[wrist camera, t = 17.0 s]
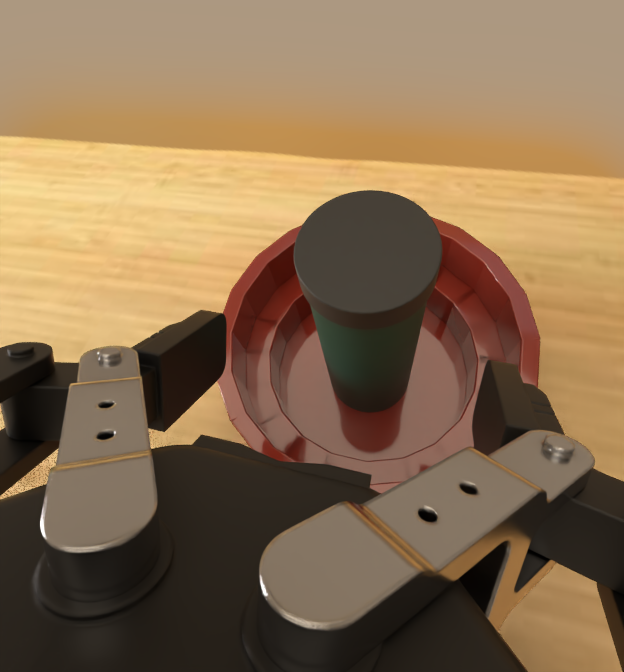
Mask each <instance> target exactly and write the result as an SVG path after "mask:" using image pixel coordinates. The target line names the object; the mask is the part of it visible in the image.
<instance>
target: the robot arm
mask: <svg viewBox="0 0 624 672" xmlns="http://www.w3.org/2000/svg"><path fill="white" fill-rule="evenodd" d="M226 332H227V322H226V317H225V315H224V314H222V313H216V312H211V311H205V310H200V311H198V312H196V313H195V314H193V315H191V316H190V317H188V318H187V319H185V320H183V321H182V322H179V323H176V324H172V325H169V326H167V327H165V328H164V329H162V330H160V331H159V333H155V334H154V335H152V336H151V337H150V338H147V339H145V340H143V341H142V342H140V343H138V344H137V345H135V346H133V347H132V348H129V347H124V346H106V347H100V348H96V349H93V350H90V351H88V352H86V353H84V354H83V355H82V356H81V358H80V363H61V362H54V357H53V351H52V347H51V346H49V345H47V344H44V343H37V342H22V343H16V344H12V345H8V346H5V347H2V348H0V405H1V409H2V414H3V419H4V424H5V428H4V429H2V430H1V431H0V495H2V494H3V493H4V492H5V491H6V490H8V489H9V488H10V487H11V486H13V485H14V484H15V483H16V482H17V481H19V480H20V479H21V478H22V477H24V476H25V475H26V474H27V473H29V472H30V471H31V470H32V469H33V468H35V467H36V466H37V465H38V464H40V463H41V462H42V461H43V460H44V459H46V458H47V457H48V456H49V455H51V454H52V453H53V452H54V451H55V450H57V449H58V448H59V450H58V456H57V462H56V466H55V467H52V468H51V469H50V472H49V476H48V481H47V484H46V485H43V486H40V487H37V488H34V489H31V490H28V491H25V492H22V493H19V494H16V495H13V496H10V497H7V498H4V499H1V500H0V672H528V671H527V670H526V668H525V667H524V666H523V664H522V663H521V662H520V661H519V659H518V658H517V657H516V655H515V654H514V653H513V651H512V650H511V649H510V647H509V646H508V645H507V643H506V642H505V641H504V639H503V638H502V637H501V635H500V634H499V633H498V631H499V629H500V627H501V625H502V624H503V622H504V620H505V618H506V617H507V615H508V614H509V613H510V611H511V610H512V609H513V608H514V607H515V606H516V605H517V604H518V603H519V602H520V601H521V600H522V599H523V598H524V597H525V596H526V595H527V594H528V593H529V592H530V591H531V589H532V588H533V587H534V586H535V585H536V584H537V583H538V582H539V581H540V580H541V579H542V578H543V577H544V576H545V575H546V574H547V573H548V572H549V571H550V570H551V569H552V568H553V567H554V565H555V563H556V562H557V563H559V564H561V565H563V566H565V567H567V568H569V569H571V570H573V571H575V572H577V573H579V574H581V575H583V576H585V577H588V578H590V579H592V580H594V581H596V582H597V588H598V592H599V595H600V598H601V602H602V605H603V608H604V612H605V615H606V618H607V622H608V625H609V628H610V632H611V635H612V638H613V641H614V645H615V648H616V651H617V655H618V658H619V661H620V665H621V668H622V671H623V672H624V482H623V481H621V480H618V479H616V478H613V477H610V476H608V475H606V474H603V473H601V472H599V471H597V470H595V469H594V468H593V466H594V463H595V459H594V456H593V455H592V453H591V452H590V451H589V450H588V449H587V448H586V447H585V446H583V445H582V444H581V443H579V442H578V441H576V440H574V439H572V438H570V437H568V436H565V435H564V432H563V430H562V428H561V426H560V424H559V422H558V420H557V417H556V416H555V413H554V411H553V409H552V407H551V405H550V402H549V400H548V398H547V396H546V395H545V394H544V393H543V392H542V391H541V390H539V389H538V388H537V387H536V386H535V385H532V384H527V383H523V380H522V378H521V375H520V373H519V370H518V368H517V365H516V364H510V363H504V362H498V361H493V360H488V361H487V363H486V365H485V368H484V372H483V376H482V380H481V384H480V388H479V392H478V396H477V400H476V404H475V408H474V413H473V419H472V434H473V442H474V447H471V446H469V447H466V448H464V449H462V450H460V451H458V452H456V453H454V454H453V455H451V456H449V457H447V458H445V459H444V460H442V461H440V462H438V463H436V464H434V465H433V466H431V467H429V468H427V469H425V470H424V471H422V472H420V473H418V474H416V475H414V476H413V477H411V478H409V479H407V480H405V481H404V482H402V483H400V484H398V485H396V486H395V487H393V488H391V489H389V490H387V491H385V492H384V493H382V494H381V493H379V492H377V491H375V490H373V489H371V488H370V483H371V477H372V475H371V474H367V473H362V472H358V471H354V470H350V469H345V468H341V467H337V466H333V465H328V464H316V463H300V462H285V461H279V460H276V459H273V458H271V457H269V456H267V455H264V454H262V453H260V452H258V451H256V450H253V449H251V448H249V447H247V446H244V445H242V444H239V443H235V442H231V441H227V440H222V439H218V438H214V437H210V436H205V435H201V436H200V437H199V438H198V439H197V440H196V441H195V442H194V443H193V445H172V446H164V447H158V448H154V449H151V448H150V440H149V432H148V428H150V429H154V430H158V431H162V432H165V431H166V430H167V429H168V428H169V427H170V426H171V425H172V424H173V423H174V422H175V421H176V420H177V419H178V418H179V417H180V416H181V415H182V414H183V413H185V412H186V411H187V410H188V409H189V408H190V407H191V406H192V405H193V404H194V403H195V402H196V401H197V400H198V399H199V398H200V397H201V396H202V395H203V394H204V393H205V392H206V391H207V390H208V389H209V388H210V387H211V386H212V385H213V384H214V383H215V382H216V381H217V380H218V379H219V378H220V377H221V376H222V374H223V372H224V369H225V365H226Z"/></svg>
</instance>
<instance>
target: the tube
mask: <svg viewBox="0 0 624 672" xmlns="http://www.w3.org/2000/svg"><path fill="white" fill-rule="evenodd" d="M441 260H442V241H441V237H440V233H439V231H438V229H437V226H436V225H435V223H434V221H433V220H432V218H431V217H430V216H429V215H428V214H427V212H426V211H424V210H423V209H422V208H421V207H420V206H419V205H417V204H416V203H414V202H413V201H411V200H409V199H407V198H405V197H402V196H400V195H397V194H393V193H390V192H384V191H373V190H368V191H357V192H352V193H348V194H344V195H341V196H339V197H336V198H334V199H332V200H330V201H328V202H326V203H325V204H323V205H322V206H320V207H319V208H318V209H316V210H315V211H314V212H313V213H312V214H311V215H310V216H309V217H308V218H307V220H306V221H305V222H304V224H303V225H302V227H301V229H300V231H299V233H298V235H297V238H296V241H295V246H294V264H295V269H296V272H297V276H298V279H299V283H300V286H301V289H302V292H303V294H304V296H305V298H306V299H307V301H308V302H309V304H310V306H311V310H312V314H313V317H314V321H315V325H316V328H317V332H318V336H319V339H320V343H321V347H322V350H323V354H324V358H325V362H326V365H327V369H328V373H329V376H330V380H331V384H332V387H333V389H334V391H335V393H336V395H337V396H338V398H339V399H340V400H341V401H342V402H343V403H345V404H346V405H347V406H349V407H351V408H353V409H355V410H358V411H361V412H379V411H383V410H385V409H388V408H390V407H391V406H393V405H394V404H396V403H397V402H398V401H399V400H400V399H401V398H402V396H403V395H404V393H405V391H406V389H407V386H408V382H409V378H410V374H411V369H412V365H413V361H414V356H415V352H416V347H417V343H418V339H419V334H420V330H421V325H422V321H423V317H424V312H425V308H426V304H427V300H428V299H429V297H430V295H431V294H432V292H433V290H434V287H435V285H436V281H437V277H438V273H439V268H440V264H441Z"/></svg>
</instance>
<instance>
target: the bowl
mask: <svg viewBox="0 0 624 672" xmlns="http://www.w3.org/2000/svg"><path fill="white" fill-rule="evenodd" d="M431 218H432V220H433V221H434V223H435V225H436V226H437V229H438V231H439V233H440V237H441V241H442V260H441V264H440V268H439V273H438V277H437V281H436V285H435V287H434V290H433V292H432V294H431V295H430V297H429V299H428V300H427V304H426V308H425V312H424V317H423V321H422V325H421V330H420V334H419V339H418V343H417V347H416V352H415V356H414V361H413V365H412V369H411V374H410V378H409V382H408V386H407V389H406V391H405V393H404V395H403V396H402V398H401V399H400V400H399V401H398V402H397V403H396V404H394V405H393V406H391V407H390V408H388V409H385V410H383V411H379V412H361V411H358V410H355V409H353V408H351V407H349V406H347V405H346V404H345V403H343V402H342V401H341V400H340V399H339V398H338V396H337V395H336V393H335V391H334V389H333V387H332V384H331V380H330V376H329V373H328V369H327V365H326V362H325V358H324V354H323V350H322V347H321V343H320V339H319V336H318V332H317V328H316V325H315V321H314V317H313V314H312V310H311V306H310V304H309V302H308V301H307V299H306V298H305V296H304V294H303V292H302V289H301V286H300V283H299V279H298V276H297V272H296V269H295V264H294V246H295V241H296V238H297V235H298V233H299V231H300V229H301V227H302V226H299V227H297V228H294V229H292V230H290V231H289V232H287V233H286V234H285V235H283V236H282V237H281V238H279V239H278V240H277V241H276V242H274V243H273V244H272V245H270V246H269V247H268V248H266V249H265V250H264V251H262V252H261V253H260V254H259V255H257V256H256V257H255V259H254V260H253V261H252V263H251V264H250V265H249V267H248V268H247V269H246V271H245V272H244V274H243V275H242V276H241V278H240V279H239V280H238V282H237V283H236V284H235V286H234V287H233V288H232V290H231V292H230V295H229V298H228V300H227V303H226V306H225V309H224V312H223V314H224V315H225V317H226V322H227V332H226V365H225V369H224V372H223V374H222V376H221V377H220V378H219V379H218V380H217V382H218V385H219V388H220V391H221V394H222V397H223V400H224V403H225V406H226V410H227V413H228V416H229V419H230V421H231V422H232V424H233V425H234V427H235V428H236V429H237V431H238V432H239V433H240V435H241V436H242V437H243V438H244V440H245V441H246V442H247V444H248V445H249V446H250V447H251V449H253V450H256V451H258V452H260V453H262V454H264V455H267V456H269V457H271V458H273V459H276V460H279V461H285V462H300V463H316V464H328V465H333V466H337V467H341V468H345V469H350V470H354V471H358V472H362V473H367V474H371V475H372V477H371V483H370V488H371V489H373V490H375V491H377V492H379V493H381V494H382V493H384V492H385V491H387V490H389V489H391V488H393V487H395V486H396V485H398V484H400V483H402V482H404V481H405V480H407V479H409V478H411V477H413V476H414V475H416V474H418V473H420V472H422V471H424V470H425V469H427V468H429V467H431V466H433V465H434V464H436V463H438V462H440V461H442V460H444V459H445V458H447V457H449V456H451V455H453V454H454V453H456V452H458V451H460V450H462V449H464V448H466V447H469V446H471V447H474V442H473V434H472V419H473V413H474V408H475V404H476V400H477V396H478V392H479V388H480V384H481V380H482V376H483V372H484V368H485V365H486V363H487V361H488V360H493V361H498V362H504V363H510V364H516V365H517V368H518V370H519V373H520V375H521V378H522V380H523V383H527V384H532V385H535V386H536V387H537V388H538V376H539V356H540V336H539V333H538V329H537V326H536V323H535V320H534V317H533V314H532V311H531V307H530V304H529V301H528V298H527V295H526V293H525V291H524V290H523V289H522V287H521V286H520V285H519V283H518V282H517V280H516V279H515V278H514V276H513V275H512V274H511V272H510V271H509V270H508V268H507V267H506V266H505V264H504V263H503V262H502V260H501V259H500V257H499V256H497V255H496V254H495V253H494V252H492V251H491V250H490V249H488V248H487V247H486V246H484V245H483V244H482V243H480V242H479V241H477V240H476V239H475V238H473V237H472V236H471V235H469V234H468V233H467V232H465V231H464V230H463V229H460V228H459V227H456V226H454V225H451V224H449V223H446V222H443V221H441V220H438V219H435V218H433V217H431Z"/></svg>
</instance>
